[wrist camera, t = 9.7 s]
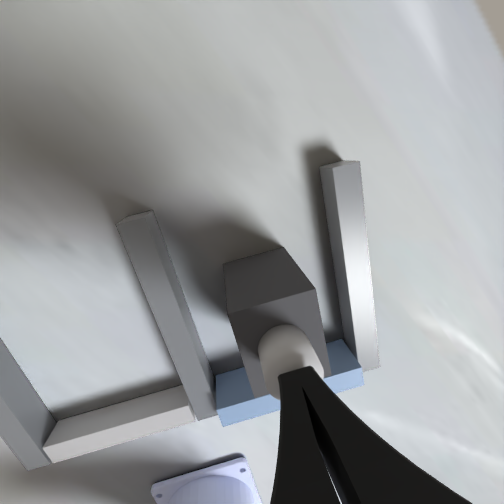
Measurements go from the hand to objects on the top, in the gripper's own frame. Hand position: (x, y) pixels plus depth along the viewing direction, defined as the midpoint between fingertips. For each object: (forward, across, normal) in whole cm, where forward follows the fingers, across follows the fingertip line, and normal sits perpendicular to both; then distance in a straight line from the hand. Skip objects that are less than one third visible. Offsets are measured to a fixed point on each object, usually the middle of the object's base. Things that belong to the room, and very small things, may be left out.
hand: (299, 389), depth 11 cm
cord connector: (+8, 0, 0) cm, 8 cm away
